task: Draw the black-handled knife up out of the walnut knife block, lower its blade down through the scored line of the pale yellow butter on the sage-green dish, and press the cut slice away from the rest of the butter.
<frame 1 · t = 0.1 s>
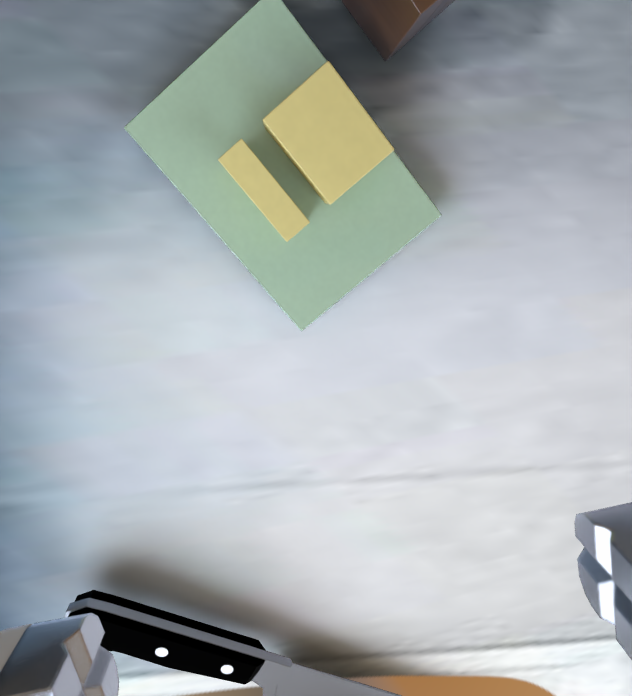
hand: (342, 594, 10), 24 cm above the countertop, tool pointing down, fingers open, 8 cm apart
steak knife: (350, 684, 40), on the countertop
butter dish: (288, 173, 31), on the countertop
butter block: (324, 140, 29), point 1 cm above the countertop, touching butter dish
butter slice: (266, 191, 30), point 1 cm above the countertop, touching butter dish
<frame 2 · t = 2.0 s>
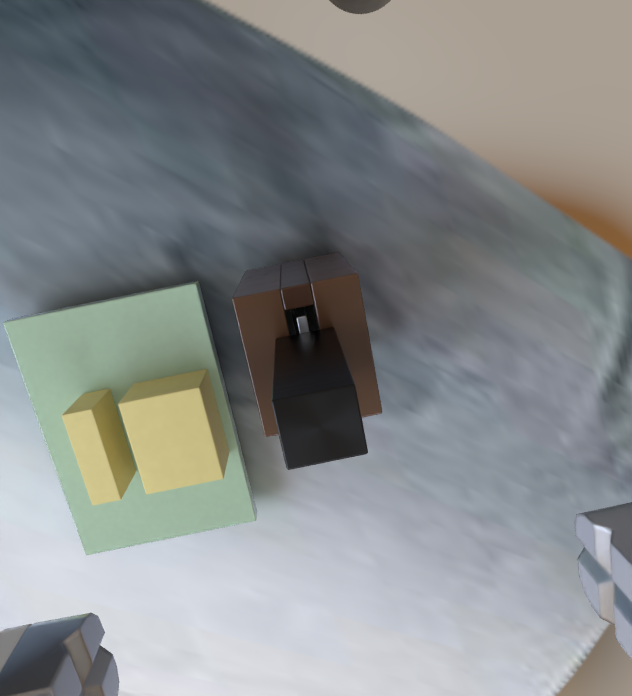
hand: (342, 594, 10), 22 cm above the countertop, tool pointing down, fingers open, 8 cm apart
butter dish: (141, 420, 32), on the countertop
butter block: (182, 418, 31), point 1 cm above the countertop, touching butter dish
butter slice: (110, 433, 31), point 1 cm above the countertop, touching butter dish
knife block: (303, 316, 30), on the countertop
knife: (309, 354, 23), in the knife block
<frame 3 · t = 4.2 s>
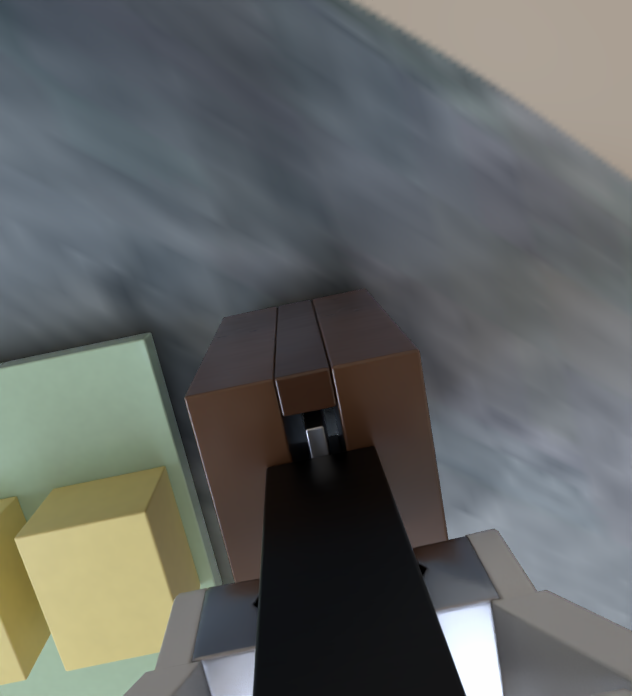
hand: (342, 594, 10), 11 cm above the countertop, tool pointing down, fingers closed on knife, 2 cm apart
butter dish: (71, 536, 21), on the countertop
butter block: (129, 538, 20), point 1 cm above the countertop, touching butter dish
butter slice: (19, 560, 20), point 1 cm above the countertop, touching butter dish
knife block: (311, 383, 20), on the countertop
knife: (327, 488, 13), in the knife block, touching gripper
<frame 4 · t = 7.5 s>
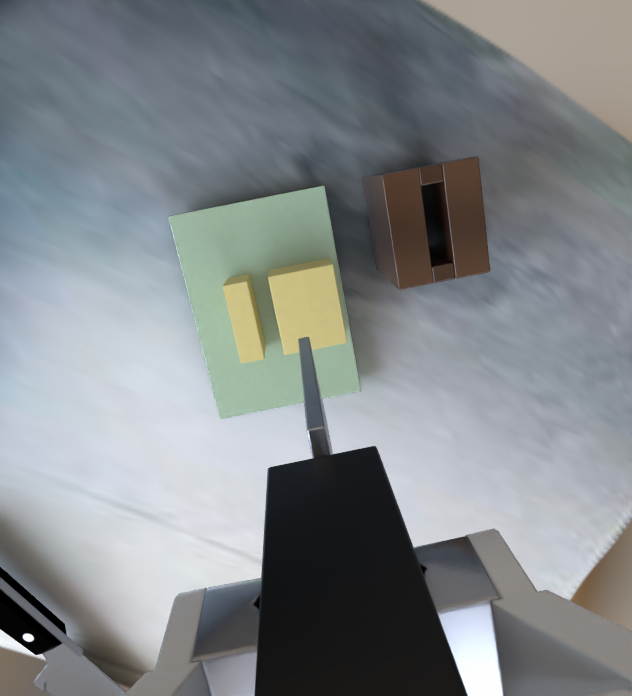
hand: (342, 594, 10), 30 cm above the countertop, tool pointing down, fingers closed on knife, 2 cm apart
steak knife: (118, 688, 47), on the countertop
butter dish: (269, 305, 38), on the countertop
butter block: (306, 301, 37), point 1 cm above the countertop, touching butter dish
butter slice: (247, 312, 37), point 1 cm above the countertop, touching butter dish
knife block: (406, 217, 37), on the countertop
knife: (329, 488, 13), point 26 cm above the countertop, touching gripper
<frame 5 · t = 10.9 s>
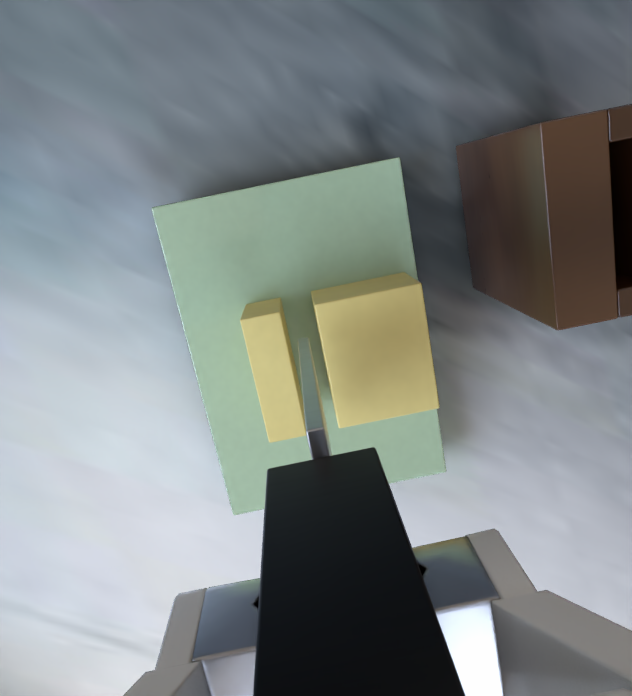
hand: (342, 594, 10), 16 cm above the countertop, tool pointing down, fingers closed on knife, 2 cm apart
butter dish: (309, 344, 25), on the countertop
butter block: (367, 338, 24), point 1 cm above the countertop, touching butter dish
butter slice: (275, 357, 24), point 1 cm above the countertop, touching butter dish
knife block: (522, 207, 24), on the countertop
knife: (328, 489, 13), point 13 cm above the countertop, touching gripper
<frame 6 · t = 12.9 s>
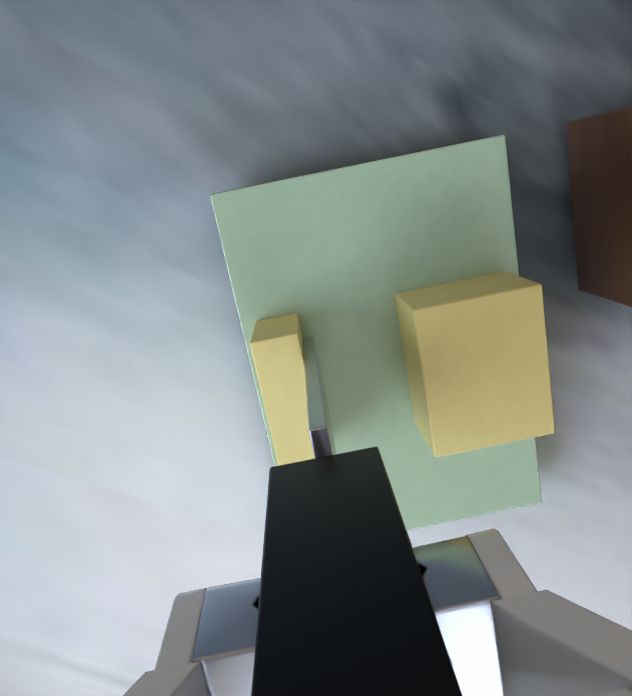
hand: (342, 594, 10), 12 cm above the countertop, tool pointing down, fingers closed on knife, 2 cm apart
butter dish: (386, 355, 22), on the countertop
butter block: (458, 349, 21), point 1 cm above the countertop, touching butter dish
butter slice: (290, 382, 21), point 1 cm above the countertop, touching butter dish, knife
knife: (331, 488, 13), point 9 cm above the countertop, touching butter slice, gripper
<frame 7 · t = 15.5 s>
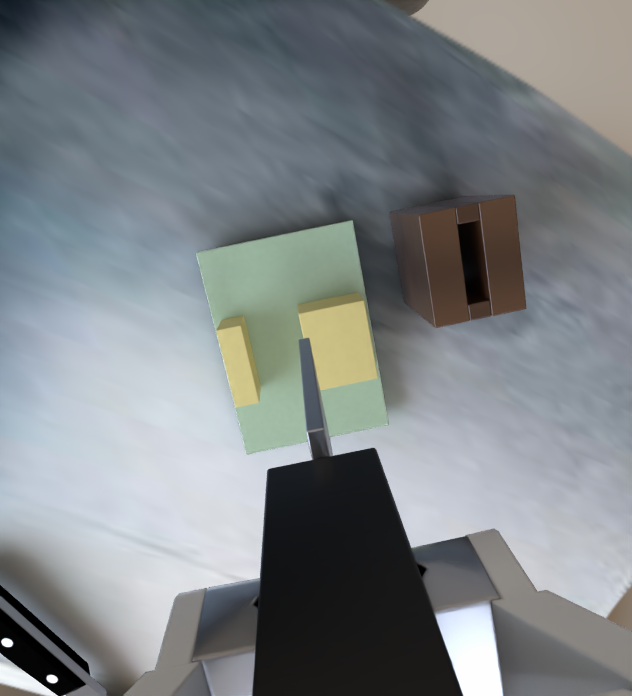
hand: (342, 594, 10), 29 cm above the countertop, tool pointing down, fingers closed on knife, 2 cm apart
butter dish: (296, 339, 38), on the countertop
butter block: (334, 335, 37), point 1 cm above the countertop, touching butter dish
butter slice: (241, 354, 37), point 1 cm above the countertop, touching butter dish
knife block: (433, 250, 37), on the countertop
knife: (328, 490, 13), point 25 cm above the countertop, touching gripper
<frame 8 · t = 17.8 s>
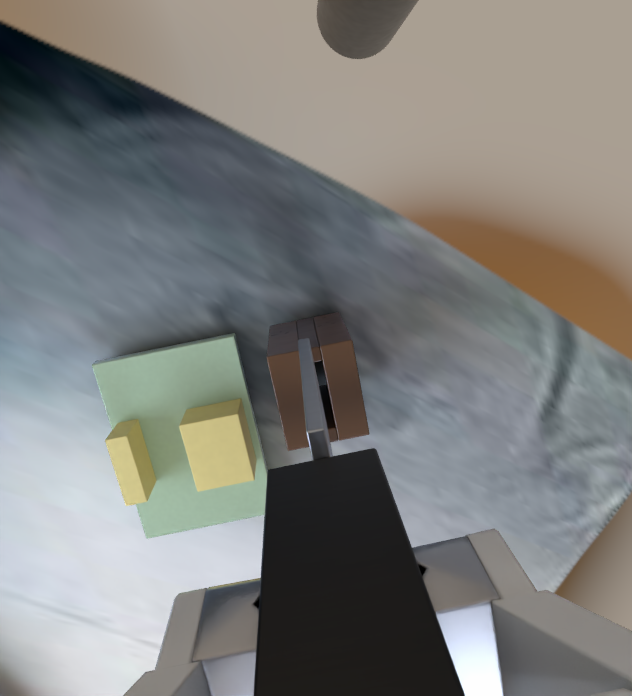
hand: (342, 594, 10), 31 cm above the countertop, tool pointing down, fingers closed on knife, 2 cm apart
butter dish: (190, 436, 42), on the countertop
butter block: (222, 435, 41), point 1 cm above the countertop, touching butter dish
butter slice: (137, 452, 41), point 1 cm above the countertop, touching butter dish
knife block: (312, 358, 41), on the countertop
knife: (328, 490, 13), point 28 cm above the countertop, touching gripper
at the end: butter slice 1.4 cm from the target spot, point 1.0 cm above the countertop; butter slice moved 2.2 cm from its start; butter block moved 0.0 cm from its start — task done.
